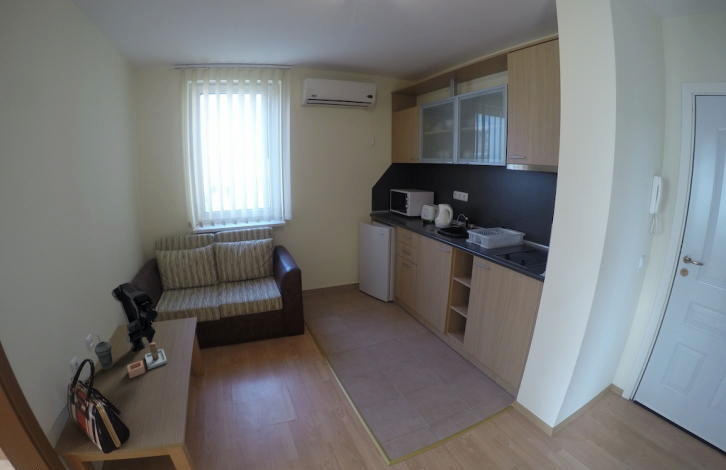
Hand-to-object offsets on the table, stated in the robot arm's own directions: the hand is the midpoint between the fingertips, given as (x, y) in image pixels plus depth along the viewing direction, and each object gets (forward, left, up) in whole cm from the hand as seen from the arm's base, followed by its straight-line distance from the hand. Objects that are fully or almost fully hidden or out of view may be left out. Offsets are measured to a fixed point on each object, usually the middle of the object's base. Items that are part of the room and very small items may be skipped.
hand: (149, 339), depth 178 cm
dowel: (+3, +1, -12) cm, 12 cm away
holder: (+8, -9, -13) cm, 17 cm away
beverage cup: (-8, -21, -13) cm, 25 cm away
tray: (+3, +1, -13) cm, 13 cm away
